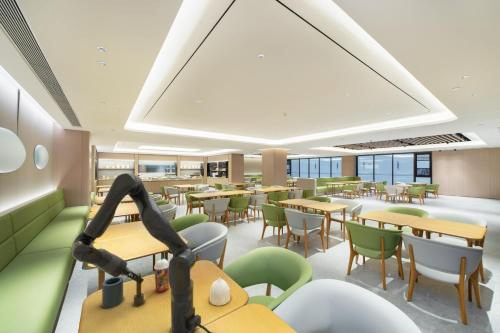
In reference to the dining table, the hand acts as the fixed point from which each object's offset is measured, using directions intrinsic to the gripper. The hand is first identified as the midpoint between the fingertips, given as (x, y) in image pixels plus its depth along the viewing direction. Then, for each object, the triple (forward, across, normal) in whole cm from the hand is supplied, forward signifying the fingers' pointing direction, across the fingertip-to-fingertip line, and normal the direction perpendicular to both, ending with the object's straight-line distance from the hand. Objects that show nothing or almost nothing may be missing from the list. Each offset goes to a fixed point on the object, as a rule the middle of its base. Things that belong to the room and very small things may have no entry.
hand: (137, 278), depth 108 cm
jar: (+5, +12, +14) cm, 19 cm away
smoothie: (+20, +1, -1) cm, 20 cm away
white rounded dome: (+28, -32, -10) cm, 44 cm away
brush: (+10, 0, +9) cm, 13 cm away
